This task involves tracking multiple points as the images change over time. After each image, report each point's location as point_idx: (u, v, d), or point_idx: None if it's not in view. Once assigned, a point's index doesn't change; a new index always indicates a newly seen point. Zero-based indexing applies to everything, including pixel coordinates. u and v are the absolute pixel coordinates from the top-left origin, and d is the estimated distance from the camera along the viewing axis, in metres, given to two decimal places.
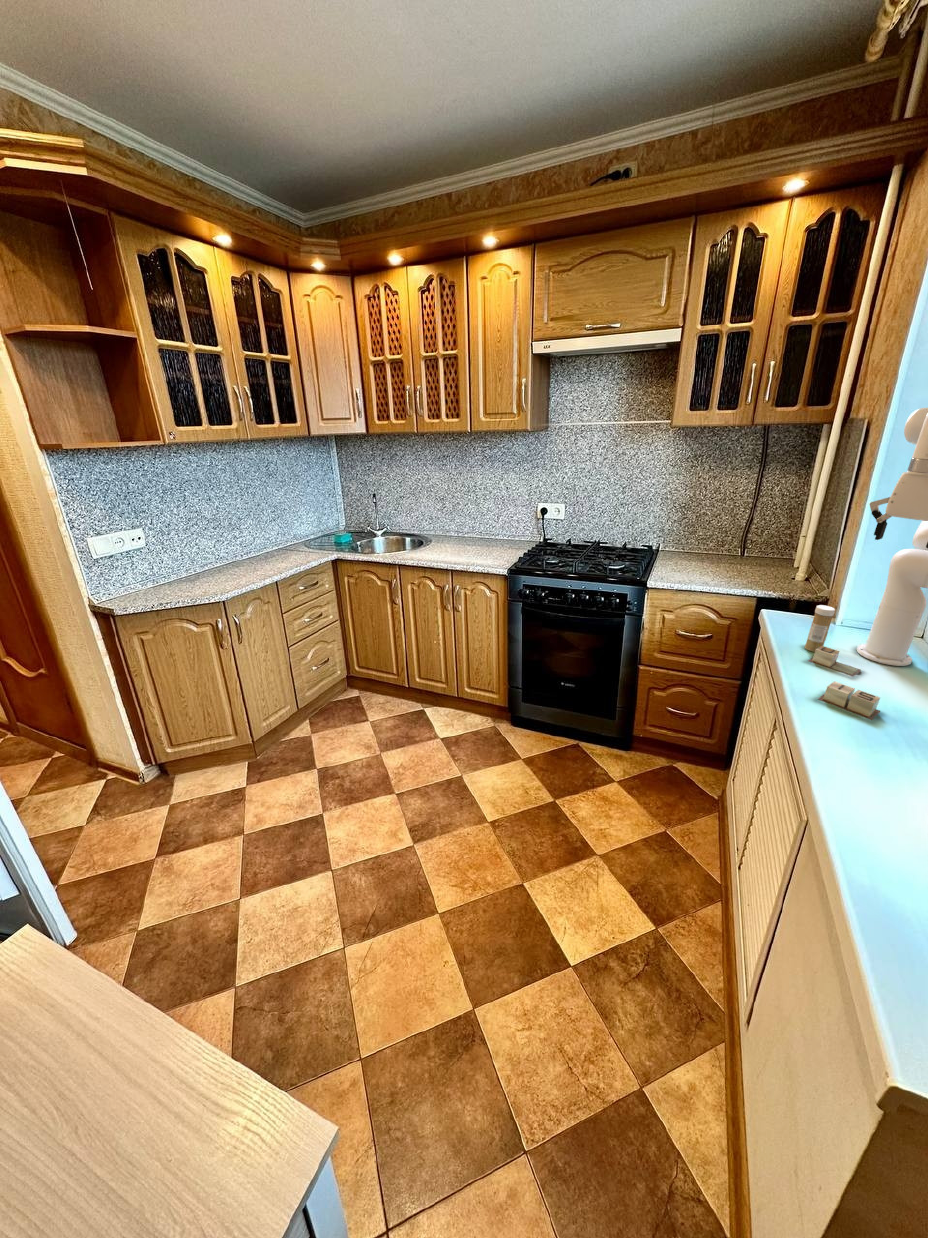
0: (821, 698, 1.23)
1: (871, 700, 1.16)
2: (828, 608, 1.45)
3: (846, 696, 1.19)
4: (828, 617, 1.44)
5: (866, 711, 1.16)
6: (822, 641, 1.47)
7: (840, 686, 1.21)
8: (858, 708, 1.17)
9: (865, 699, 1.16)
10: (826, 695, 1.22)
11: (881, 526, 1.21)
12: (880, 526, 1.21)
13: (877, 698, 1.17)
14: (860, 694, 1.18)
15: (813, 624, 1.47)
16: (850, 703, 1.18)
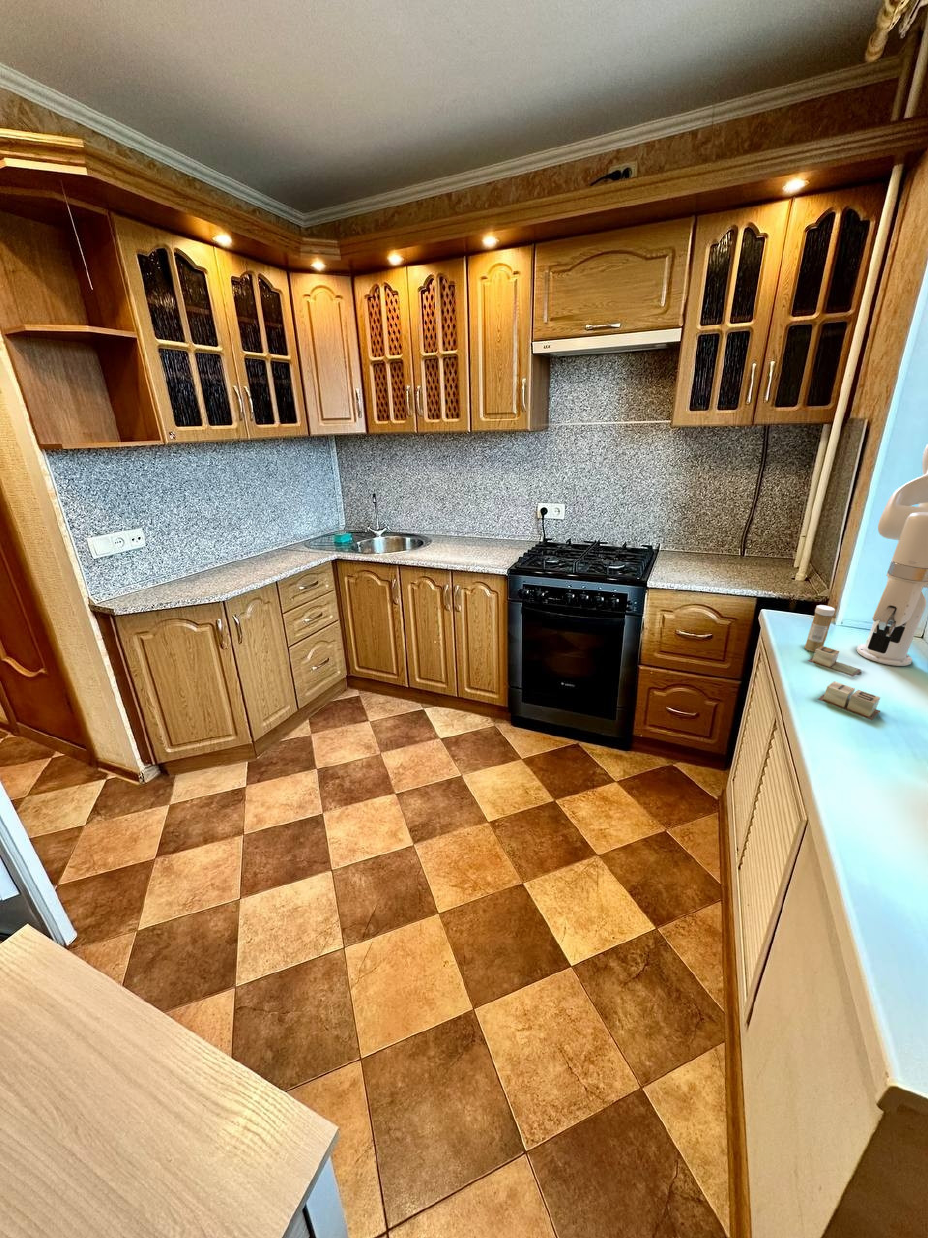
0: (821, 698, 1.23)
1: (871, 700, 1.16)
2: (828, 608, 1.45)
3: (846, 696, 1.19)
4: (828, 617, 1.44)
5: (866, 711, 1.16)
6: (822, 641, 1.47)
7: (840, 686, 1.21)
8: (858, 708, 1.17)
9: (865, 699, 1.16)
10: (826, 695, 1.22)
11: (890, 639, 1.08)
12: (890, 639, 1.08)
13: (877, 698, 1.17)
14: (860, 694, 1.18)
15: (813, 624, 1.47)
16: (850, 703, 1.18)
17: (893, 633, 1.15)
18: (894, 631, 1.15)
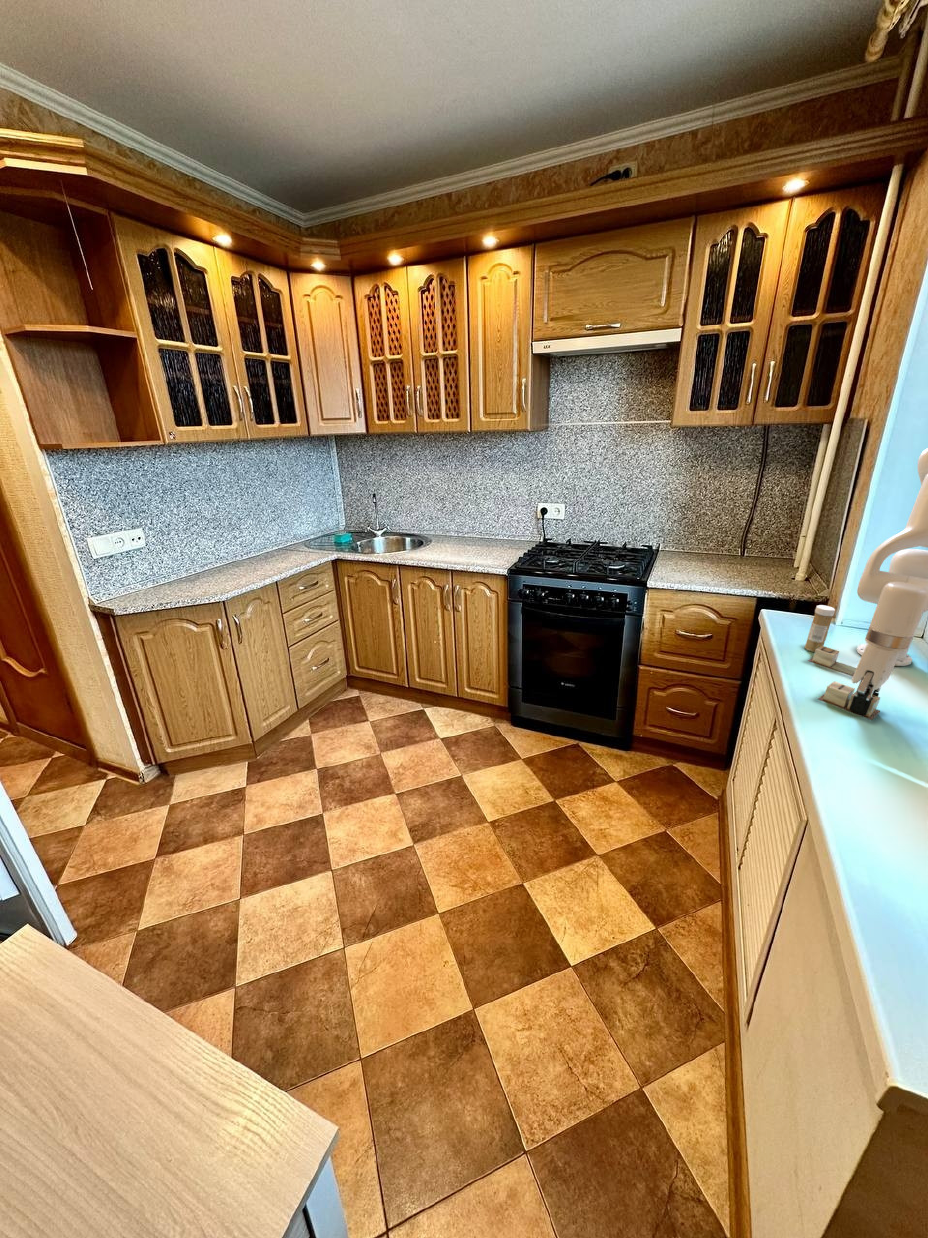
0: (821, 698, 1.23)
1: None
2: (828, 608, 1.45)
3: (846, 696, 1.19)
4: (828, 617, 1.44)
5: None
6: (822, 641, 1.47)
7: (840, 686, 1.21)
8: None
9: None
10: (826, 695, 1.22)
11: None
12: None
13: (877, 698, 1.17)
14: None
15: (813, 624, 1.47)
16: (850, 703, 1.18)
17: None
18: None
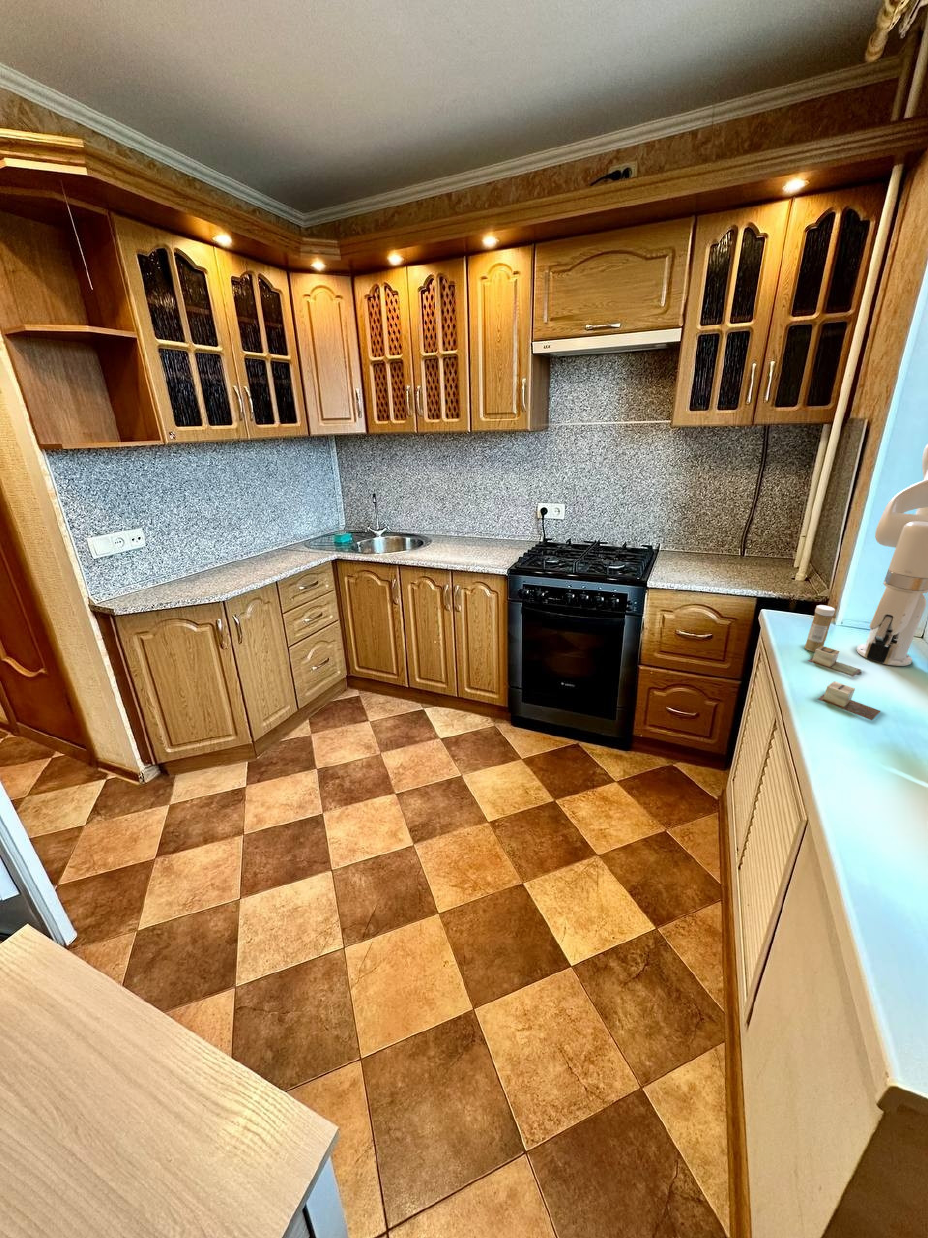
0: (821, 698, 1.23)
1: None
2: (828, 608, 1.45)
3: (846, 696, 1.19)
4: (828, 617, 1.44)
5: None
6: (822, 641, 1.47)
7: (840, 686, 1.21)
8: None
9: None
10: (826, 695, 1.22)
11: (888, 649, 1.11)
12: (888, 650, 1.11)
13: (896, 645, 1.13)
14: None
15: (813, 624, 1.47)
16: (867, 651, 1.15)
17: None
18: None
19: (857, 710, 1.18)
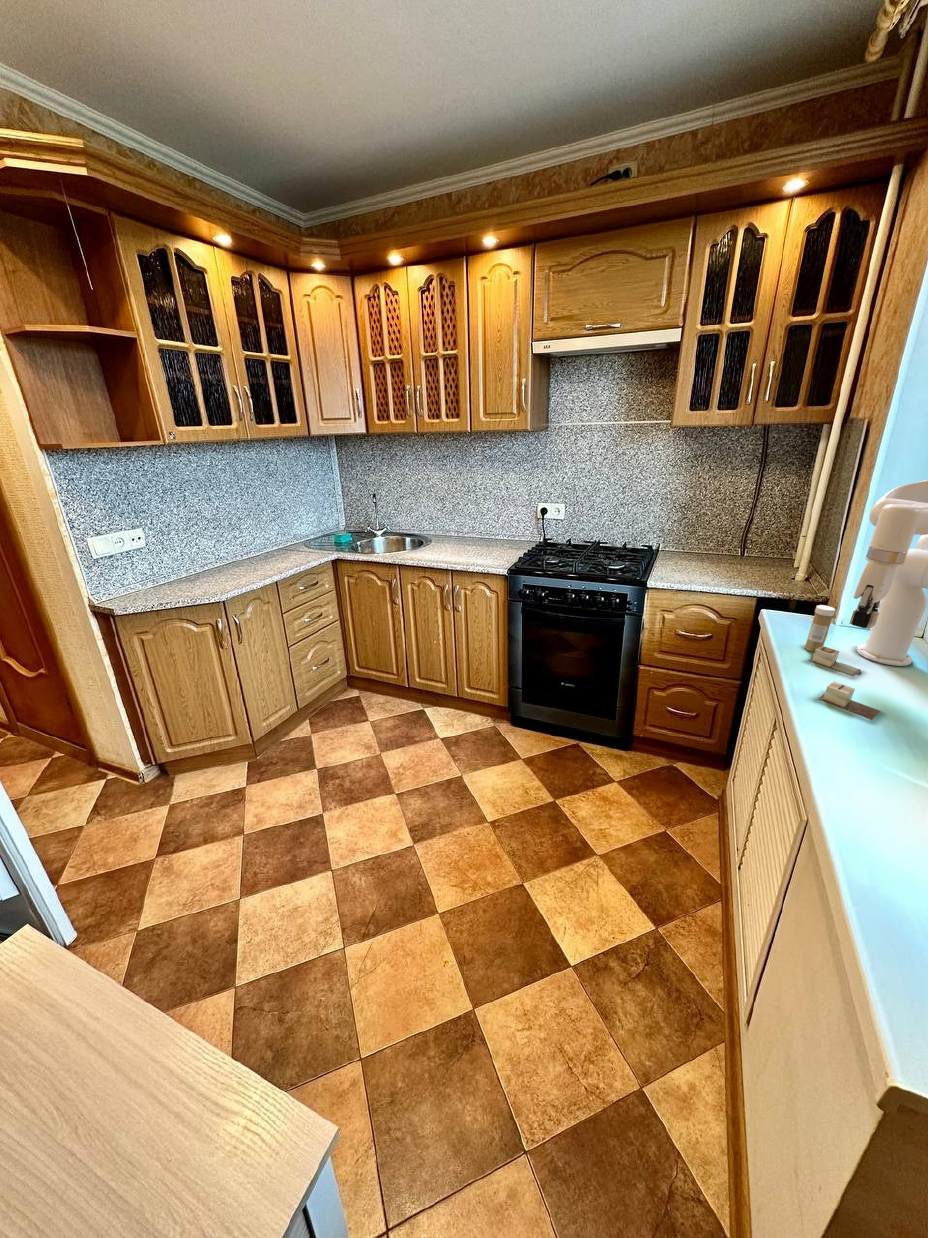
0: (821, 698, 1.23)
1: (871, 614, 1.29)
2: (828, 608, 1.45)
3: (846, 696, 1.19)
4: (828, 617, 1.44)
5: None
6: (822, 641, 1.47)
7: (840, 686, 1.21)
8: None
9: None
10: (826, 695, 1.22)
11: (870, 616, 1.28)
12: (870, 616, 1.28)
13: (876, 612, 1.29)
14: None
15: (813, 624, 1.47)
16: (852, 618, 1.31)
17: None
18: None
19: (857, 710, 1.18)
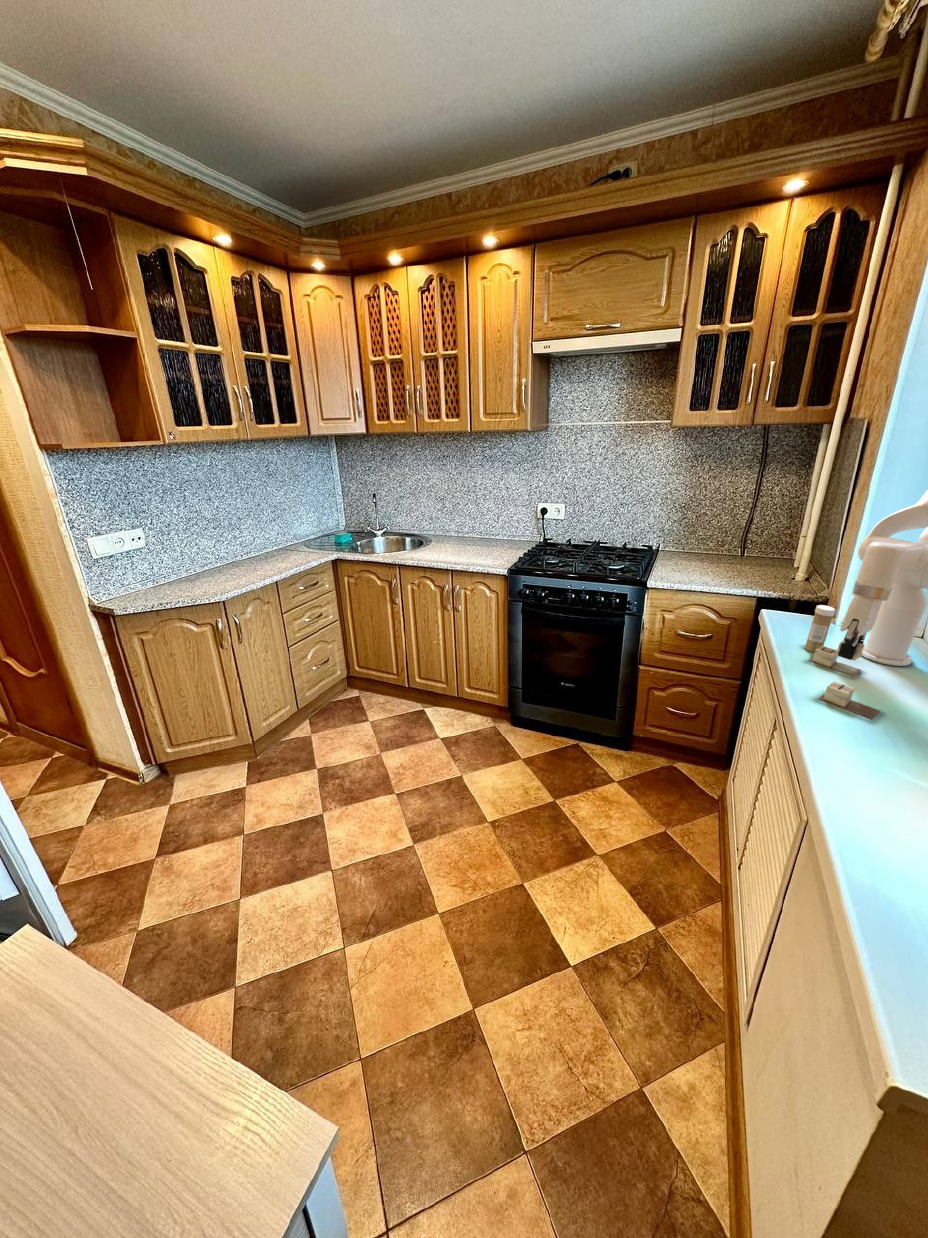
0: (821, 698, 1.23)
1: None
2: (828, 608, 1.45)
3: (846, 696, 1.19)
4: (828, 617, 1.44)
5: None
6: (822, 641, 1.47)
7: (840, 686, 1.21)
8: None
9: None
10: (826, 695, 1.22)
11: None
12: (855, 648, 1.32)
13: (862, 645, 1.34)
14: None
15: (813, 624, 1.47)
16: (839, 650, 1.36)
17: None
18: None
19: (857, 710, 1.18)
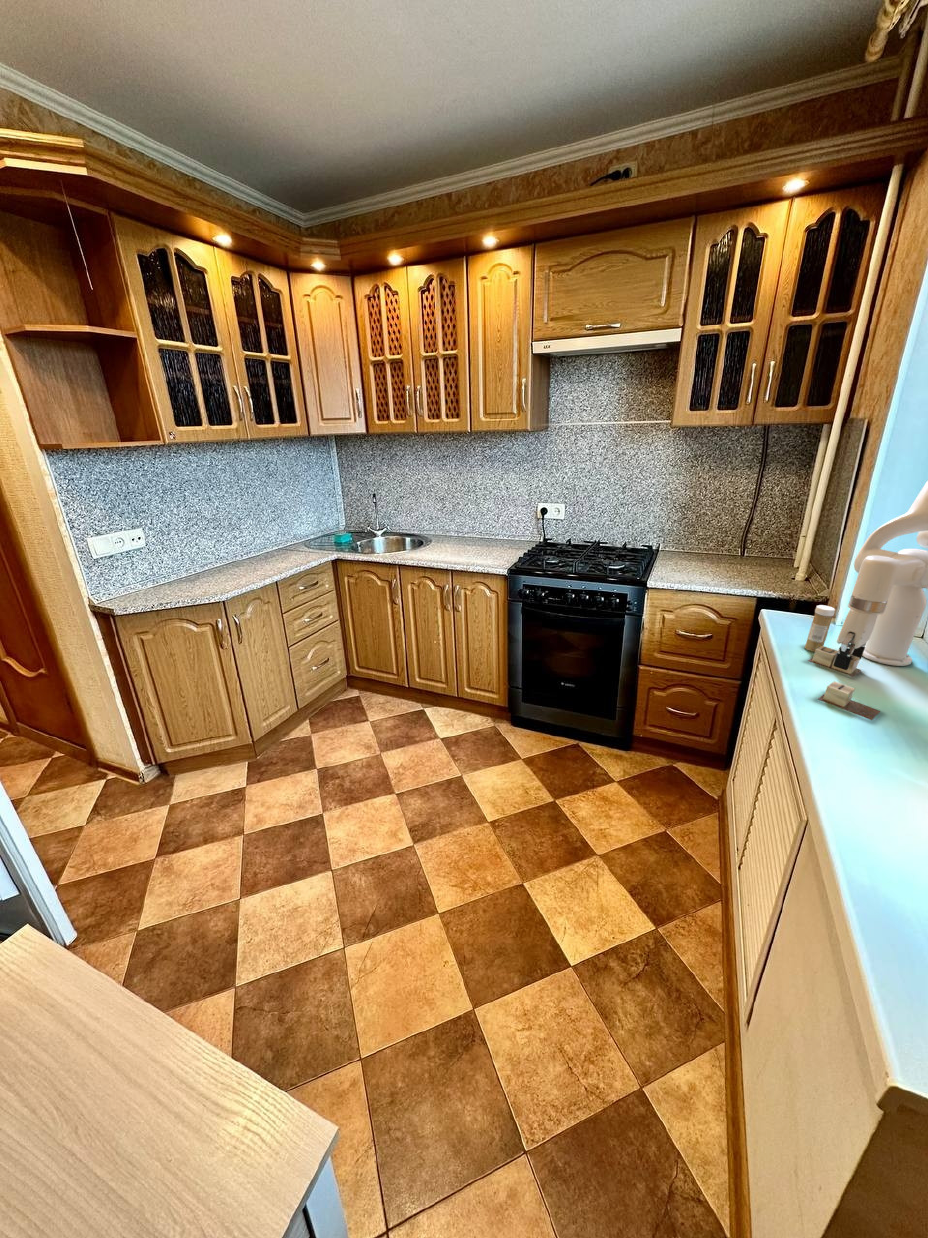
0: (821, 698, 1.23)
1: (851, 659, 1.35)
2: (828, 608, 1.45)
3: (846, 696, 1.19)
4: (828, 617, 1.44)
5: (847, 669, 1.35)
6: (822, 641, 1.47)
7: (840, 686, 1.21)
8: None
9: None
10: (826, 695, 1.22)
11: (851, 658, 1.32)
12: None
13: (857, 658, 1.36)
14: None
15: (813, 624, 1.47)
16: None
17: (855, 652, 1.39)
18: (856, 650, 1.39)
19: (857, 710, 1.18)
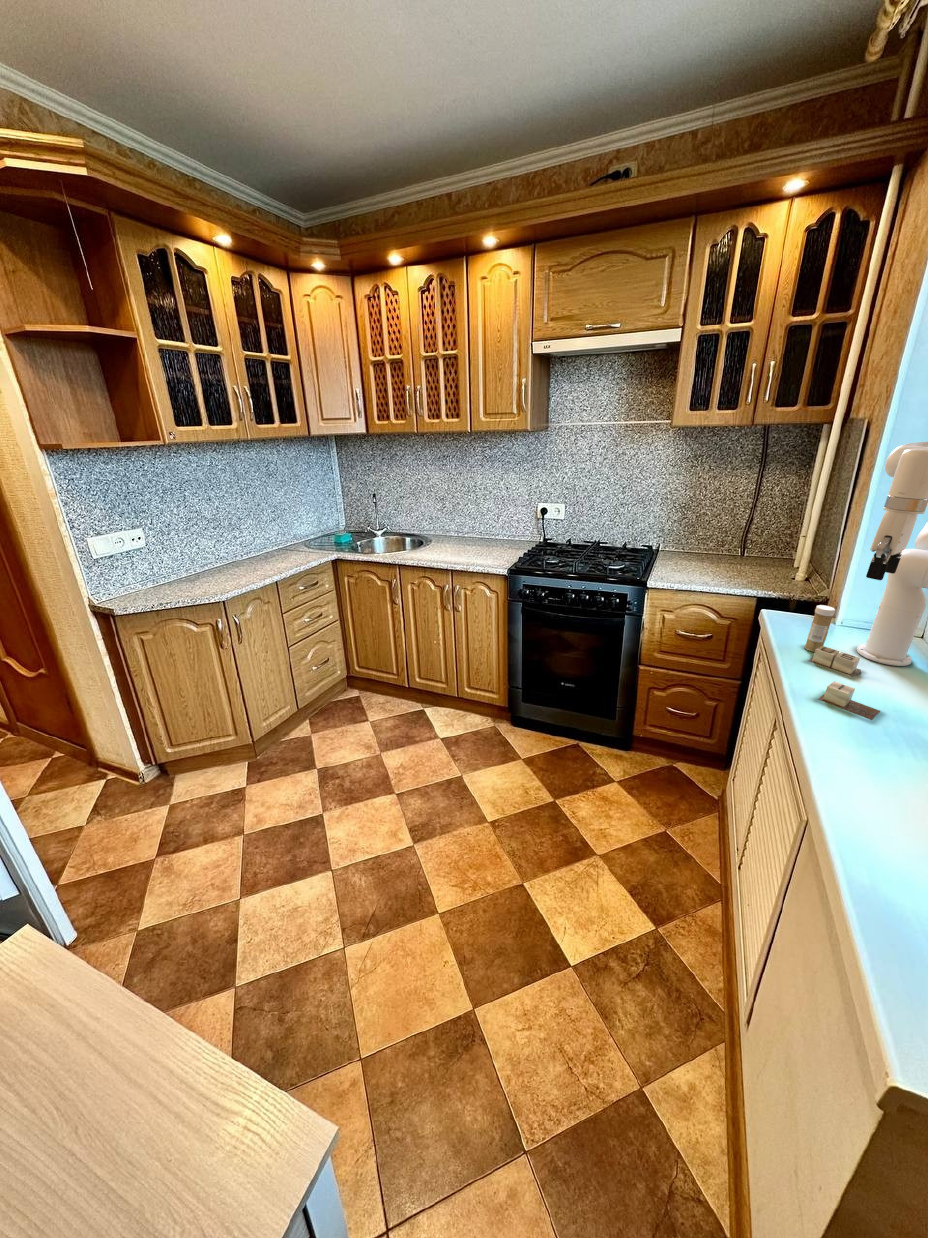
0: (821, 698, 1.23)
1: (851, 659, 1.35)
2: (828, 608, 1.45)
3: (846, 696, 1.19)
4: (828, 617, 1.44)
5: (847, 669, 1.35)
6: (822, 641, 1.47)
7: (840, 686, 1.21)
8: (841, 667, 1.36)
9: (847, 659, 1.35)
10: (826, 695, 1.22)
11: (886, 567, 1.19)
12: (886, 567, 1.19)
13: (857, 658, 1.36)
14: (843, 655, 1.37)
15: (813, 624, 1.47)
16: (834, 663, 1.37)
17: (889, 564, 1.26)
18: (890, 562, 1.26)
19: (857, 710, 1.18)
